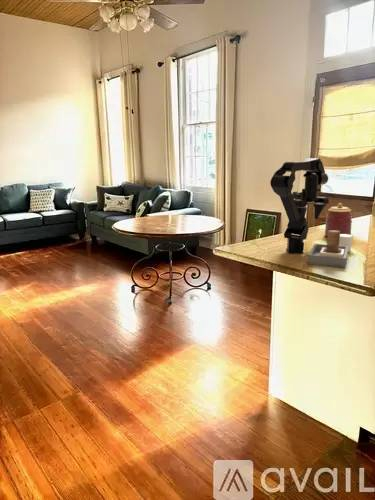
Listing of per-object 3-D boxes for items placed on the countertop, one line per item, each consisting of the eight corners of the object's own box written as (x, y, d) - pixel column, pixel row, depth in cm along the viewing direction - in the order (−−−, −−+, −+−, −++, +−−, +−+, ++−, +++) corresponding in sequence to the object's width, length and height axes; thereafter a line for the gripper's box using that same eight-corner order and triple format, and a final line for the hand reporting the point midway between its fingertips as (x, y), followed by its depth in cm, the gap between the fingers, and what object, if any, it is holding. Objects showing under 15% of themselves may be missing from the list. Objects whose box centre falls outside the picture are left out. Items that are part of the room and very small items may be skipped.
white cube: (341, 252, 165) (342, 237, 164) (332, 248, 172) (334, 234, 170) (355, 251, 167) (356, 236, 165) (346, 247, 173) (347, 233, 171)
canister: (331, 232, 205) (334, 200, 200) (355, 236, 196) (358, 202, 191) (319, 236, 197) (322, 203, 192) (343, 240, 187) (346, 205, 183)
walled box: (307, 264, 150) (308, 252, 148) (314, 252, 167) (314, 241, 166) (345, 268, 144) (346, 255, 142) (347, 255, 161) (348, 244, 160)
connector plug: (330, 262, 148) (333, 232, 145) (323, 259, 152) (325, 230, 149) (340, 261, 150) (342, 232, 147) (332, 258, 154) (335, 229, 151)
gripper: (311, 184, 180) (309, 215, 184) (283, 186, 171) (282, 220, 175) (330, 185, 170) (328, 218, 174) (301, 188, 161) (299, 223, 165)
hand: (309, 220), depth 172 cm, fingers open, 9 cm apart
